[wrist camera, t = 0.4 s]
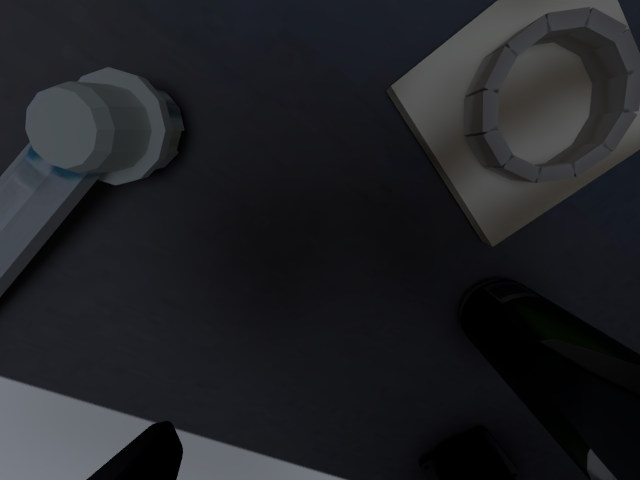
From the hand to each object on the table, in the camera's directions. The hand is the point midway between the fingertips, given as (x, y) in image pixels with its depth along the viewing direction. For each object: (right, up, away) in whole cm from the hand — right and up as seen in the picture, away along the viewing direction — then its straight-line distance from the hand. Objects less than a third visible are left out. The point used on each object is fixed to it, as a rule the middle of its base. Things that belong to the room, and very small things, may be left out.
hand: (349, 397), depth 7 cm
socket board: (+12, +12, +11) cm, 20 cm away
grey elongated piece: (-19, +5, +13) cm, 24 cm away
